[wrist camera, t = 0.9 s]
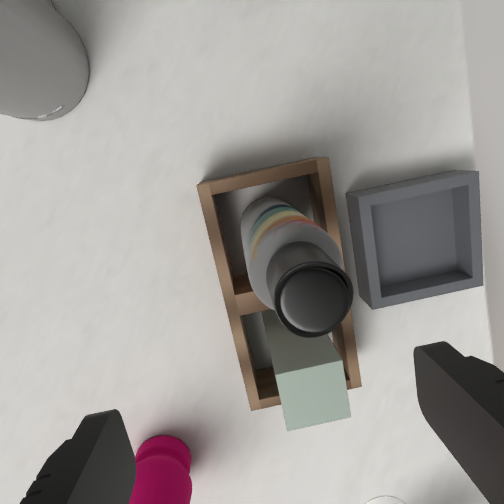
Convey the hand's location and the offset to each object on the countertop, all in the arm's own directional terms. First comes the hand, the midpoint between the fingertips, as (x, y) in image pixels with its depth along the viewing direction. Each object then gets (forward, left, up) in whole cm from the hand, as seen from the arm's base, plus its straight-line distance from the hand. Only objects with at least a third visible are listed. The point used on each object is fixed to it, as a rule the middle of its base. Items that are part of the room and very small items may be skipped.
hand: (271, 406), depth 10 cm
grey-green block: (+12, +3, -27) cm, 29 cm away
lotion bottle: (+1, +3, -27) cm, 27 cm away
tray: (+5, +16, -27) cm, 32 cm away
